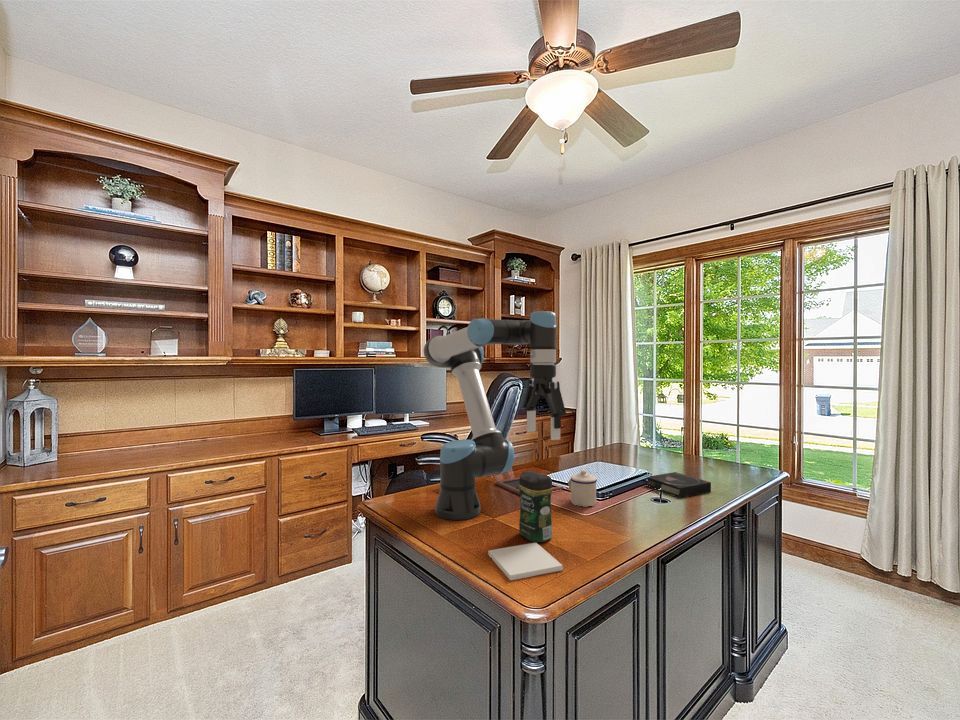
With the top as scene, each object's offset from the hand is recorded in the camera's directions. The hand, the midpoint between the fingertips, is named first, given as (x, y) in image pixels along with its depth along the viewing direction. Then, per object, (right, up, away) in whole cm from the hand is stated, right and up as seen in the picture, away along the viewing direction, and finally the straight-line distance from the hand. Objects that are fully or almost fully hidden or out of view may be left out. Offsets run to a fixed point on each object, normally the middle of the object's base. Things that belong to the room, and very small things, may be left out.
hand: (542, 435), depth 131 cm
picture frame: (+3, -29, +46) cm, 54 cm away
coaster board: (-7, -29, -19) cm, 35 cm away
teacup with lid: (+17, -28, +27) cm, 42 cm away
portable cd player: (+58, -29, +42) cm, 77 cm away
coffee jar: (-3, -29, -3) cm, 29 cm away
